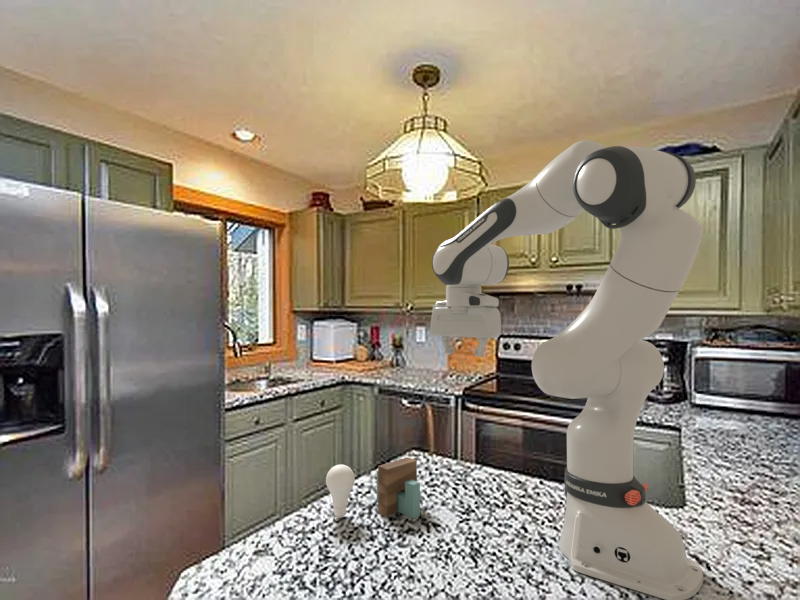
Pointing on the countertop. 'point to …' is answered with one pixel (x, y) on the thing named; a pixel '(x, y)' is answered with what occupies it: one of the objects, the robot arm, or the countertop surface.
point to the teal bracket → (408, 499)
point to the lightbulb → (340, 487)
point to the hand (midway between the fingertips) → (463, 355)
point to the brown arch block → (394, 483)
